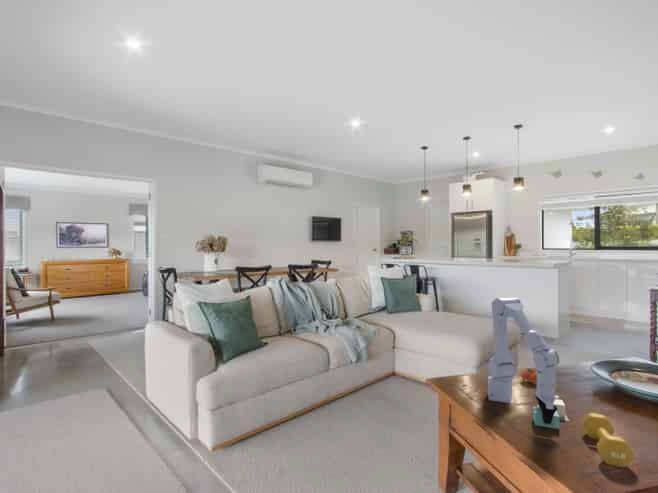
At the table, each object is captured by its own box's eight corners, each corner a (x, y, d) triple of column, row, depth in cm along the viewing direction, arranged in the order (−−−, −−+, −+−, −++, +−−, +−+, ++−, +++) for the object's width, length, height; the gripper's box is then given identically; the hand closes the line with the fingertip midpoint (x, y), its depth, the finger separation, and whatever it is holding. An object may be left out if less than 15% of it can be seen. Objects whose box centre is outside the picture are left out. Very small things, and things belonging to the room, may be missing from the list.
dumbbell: (636, 472, 101) (637, 445, 101) (599, 465, 104) (599, 438, 104) (611, 437, 118) (611, 414, 118) (580, 432, 122) (580, 409, 122)
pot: (525, 377, 170) (528, 364, 168) (541, 386, 163) (545, 373, 162) (515, 380, 166) (519, 367, 164) (531, 389, 159) (535, 376, 158)
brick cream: (542, 413, 134) (542, 402, 134) (540, 407, 139) (540, 396, 139) (565, 417, 131) (565, 405, 131) (562, 411, 136) (562, 400, 136)
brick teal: (535, 425, 125) (535, 412, 125) (532, 418, 130) (532, 406, 130) (559, 429, 123) (559, 416, 123) (556, 422, 127) (556, 410, 127)
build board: (541, 417, 132) (541, 416, 132) (536, 405, 141) (536, 404, 141) (569, 422, 128) (569, 420, 128) (562, 409, 138) (562, 408, 138)
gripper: (563, 393, 118) (563, 432, 118) (554, 377, 131) (554, 412, 131) (539, 389, 120) (539, 428, 121) (533, 374, 134) (532, 408, 134)
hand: (545, 419), depth 126 cm, fingers closed on brick teal, 5 cm apart
